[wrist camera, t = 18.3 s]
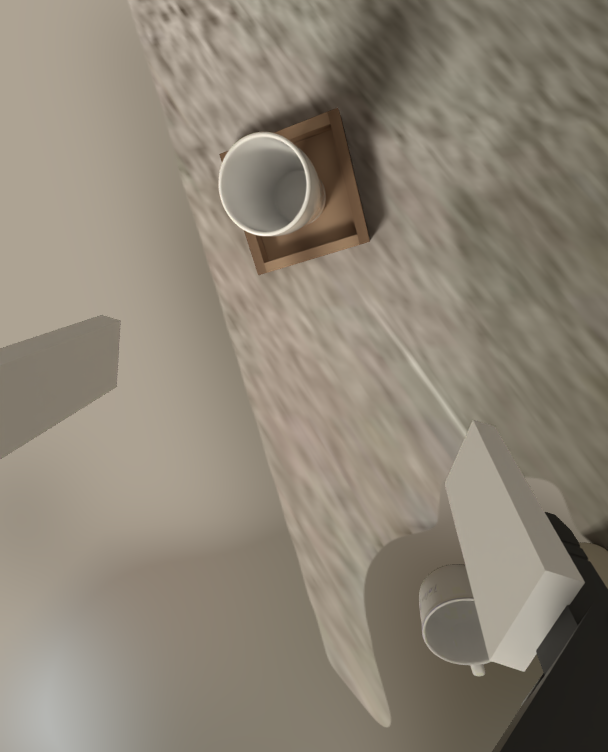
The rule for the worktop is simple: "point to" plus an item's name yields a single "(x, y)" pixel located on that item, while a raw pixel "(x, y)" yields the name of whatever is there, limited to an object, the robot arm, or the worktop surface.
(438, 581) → the teacup
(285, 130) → the walnut tray
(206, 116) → the worktop surface
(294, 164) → the white tumbler cup
